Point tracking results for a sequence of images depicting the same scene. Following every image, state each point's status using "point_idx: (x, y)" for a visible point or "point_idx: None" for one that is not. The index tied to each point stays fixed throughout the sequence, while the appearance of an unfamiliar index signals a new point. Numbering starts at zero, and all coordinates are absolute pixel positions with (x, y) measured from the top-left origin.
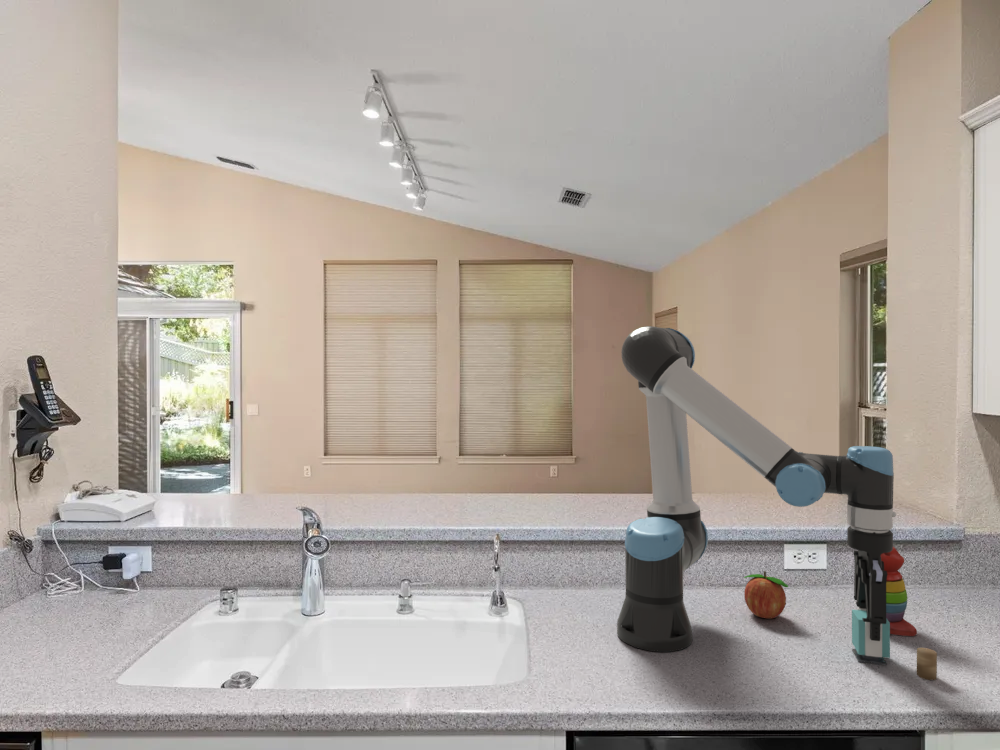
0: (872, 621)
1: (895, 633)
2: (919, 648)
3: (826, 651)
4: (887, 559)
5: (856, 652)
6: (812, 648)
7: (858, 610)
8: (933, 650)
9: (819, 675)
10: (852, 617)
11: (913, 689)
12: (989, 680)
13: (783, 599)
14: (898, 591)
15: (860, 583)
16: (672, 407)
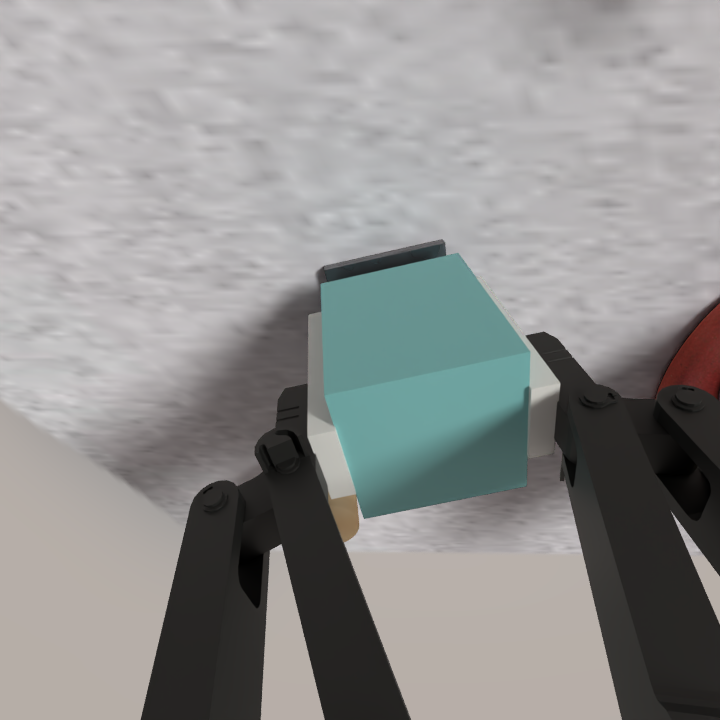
0: (200, 501)
1: (662, 387)
2: (342, 512)
3: (378, 112)
4: None
5: (406, 262)
6: (386, 19)
7: (521, 388)
8: (348, 539)
9: (7, 80)
10: (489, 328)
11: (188, 425)
12: (383, 549)
13: None
14: None
15: (628, 613)
16: None
